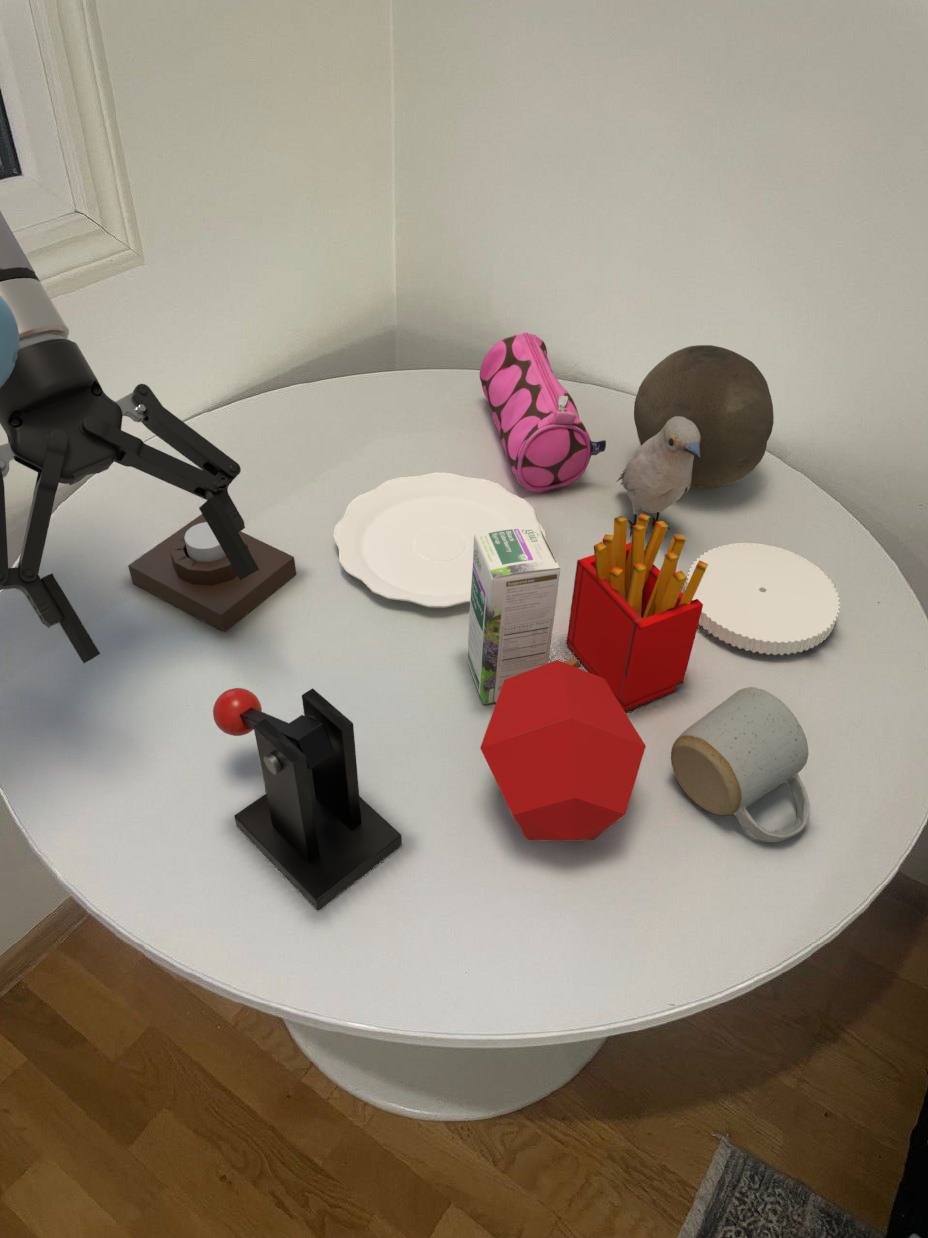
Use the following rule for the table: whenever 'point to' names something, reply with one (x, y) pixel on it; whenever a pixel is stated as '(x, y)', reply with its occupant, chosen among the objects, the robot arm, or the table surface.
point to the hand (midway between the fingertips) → (174, 615)
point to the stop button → (203, 544)
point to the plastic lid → (765, 598)
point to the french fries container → (635, 613)
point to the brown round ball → (710, 409)
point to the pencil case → (535, 415)
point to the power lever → (244, 711)
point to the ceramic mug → (744, 759)
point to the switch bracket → (315, 810)
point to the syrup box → (510, 606)
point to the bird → (662, 468)
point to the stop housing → (211, 578)
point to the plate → (424, 535)
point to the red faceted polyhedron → (562, 752)
